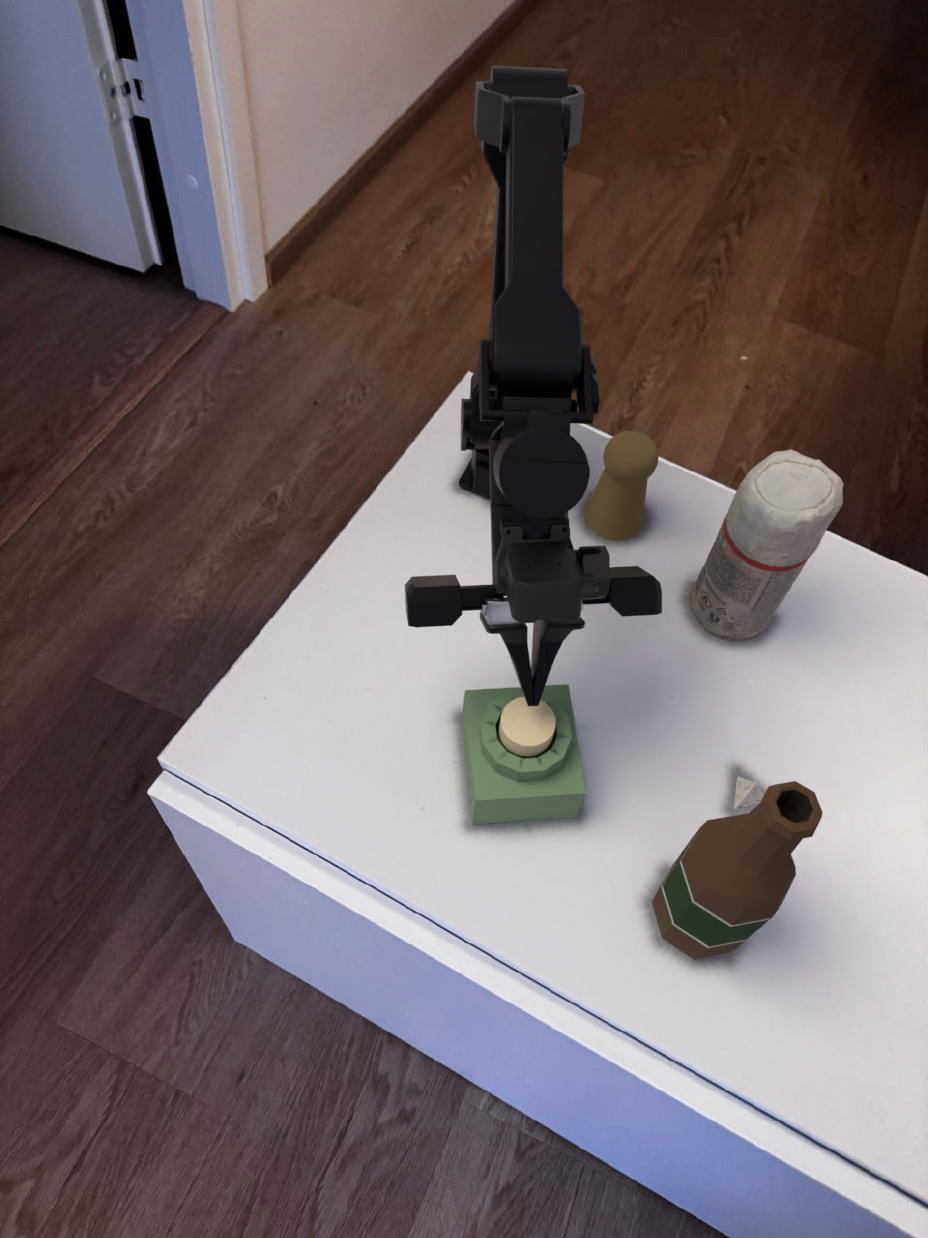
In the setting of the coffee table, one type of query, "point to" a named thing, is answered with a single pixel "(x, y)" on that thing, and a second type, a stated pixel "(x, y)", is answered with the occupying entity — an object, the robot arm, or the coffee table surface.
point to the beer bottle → (735, 873)
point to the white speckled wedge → (746, 793)
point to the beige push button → (526, 727)
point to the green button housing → (520, 762)
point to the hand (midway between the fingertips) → (532, 704)
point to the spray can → (764, 543)
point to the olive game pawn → (622, 486)
